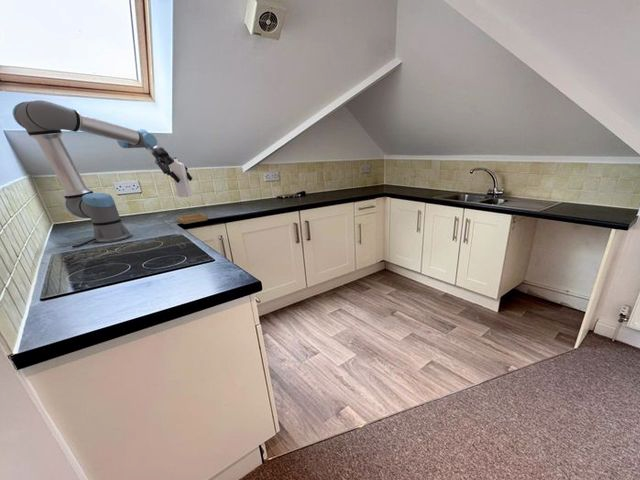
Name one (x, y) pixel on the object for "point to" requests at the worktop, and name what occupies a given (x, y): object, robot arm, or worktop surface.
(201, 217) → the tray
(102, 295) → the worktop surface
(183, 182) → the milk
